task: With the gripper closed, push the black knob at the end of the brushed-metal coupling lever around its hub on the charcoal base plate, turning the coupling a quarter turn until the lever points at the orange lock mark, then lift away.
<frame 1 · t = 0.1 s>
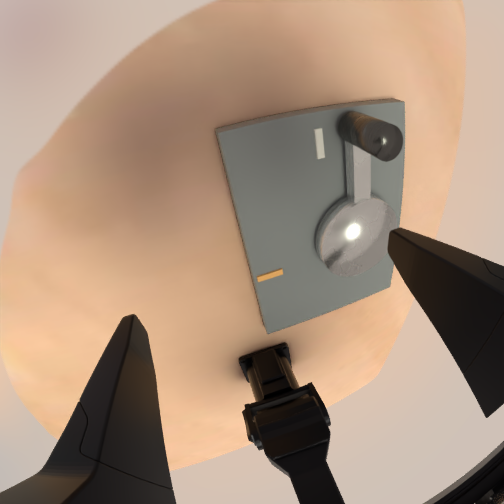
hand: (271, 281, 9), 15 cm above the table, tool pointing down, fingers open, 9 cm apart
base plate: (326, 223, 27), on the table
coupling cap: (368, 209, 22), point 4 cm above the table, hinge at 0.0°
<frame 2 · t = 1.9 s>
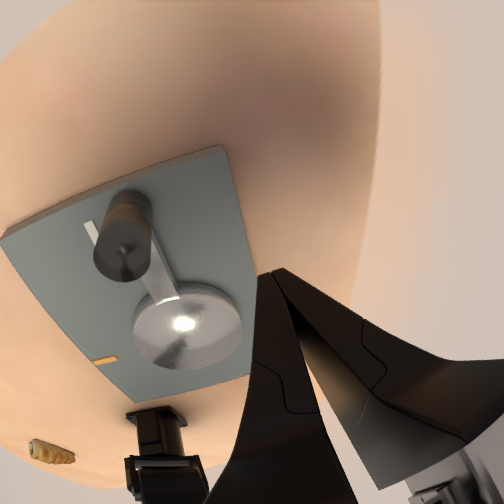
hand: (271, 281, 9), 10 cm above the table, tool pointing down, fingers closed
base plate: (158, 309, 23), on the table
coupling cap: (170, 315, 18), point 4 cm above the table, hinge at 0.0°
pastry: (49, 445, 36), on the table
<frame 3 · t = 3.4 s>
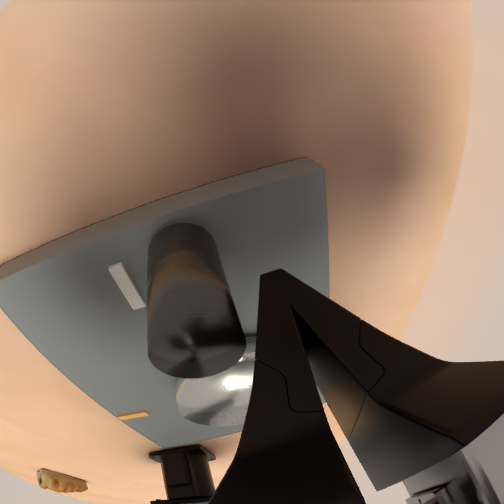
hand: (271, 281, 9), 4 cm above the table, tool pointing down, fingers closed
base plate: (201, 359, 18), on the table
coupling cap: (234, 383, 13), point 4 cm above the table, hinge at 0.1°, touching gripper
pastry: (58, 473, 31), on the table
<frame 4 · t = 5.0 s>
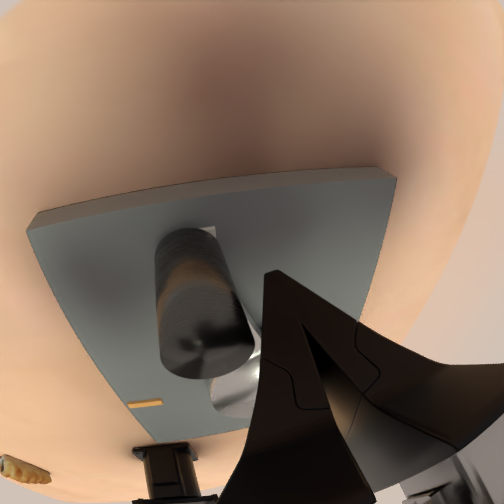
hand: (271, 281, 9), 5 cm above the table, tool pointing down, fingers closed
base plate: (231, 347, 18), on the table
coupling cap: (261, 375, 13), point 4 cm above the table, hinge at 21.5°, touching gripper
pastry: (21, 461, 26), on the table
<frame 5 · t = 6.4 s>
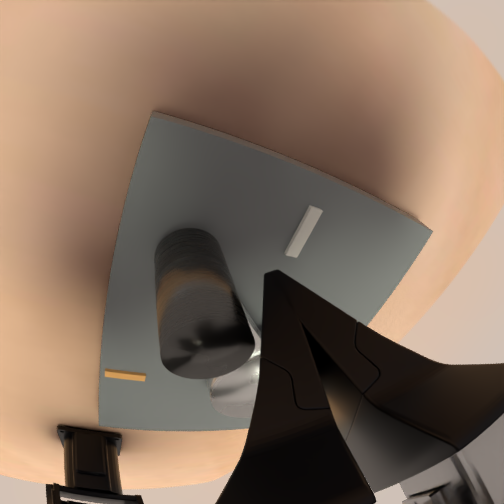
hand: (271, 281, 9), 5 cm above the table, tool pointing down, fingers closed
base plate: (236, 338, 18), on the table
coupling cap: (261, 375, 13), point 4 cm above the table, hinge at 46.1°, touching gripper
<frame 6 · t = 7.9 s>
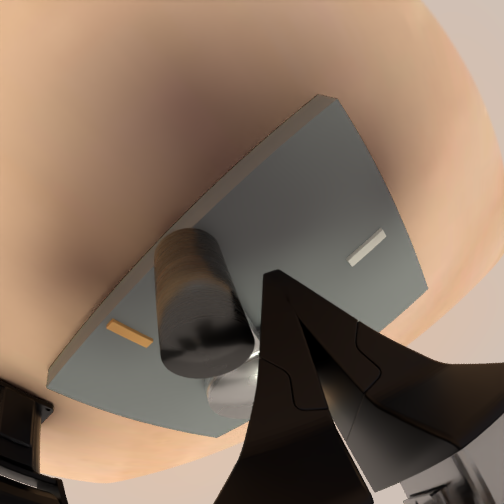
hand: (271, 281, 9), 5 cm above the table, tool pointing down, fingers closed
base plate: (244, 331, 18), on the table
coupling cap: (259, 375, 13), point 4 cm above the table, hinge at 71.1°, touching gripper
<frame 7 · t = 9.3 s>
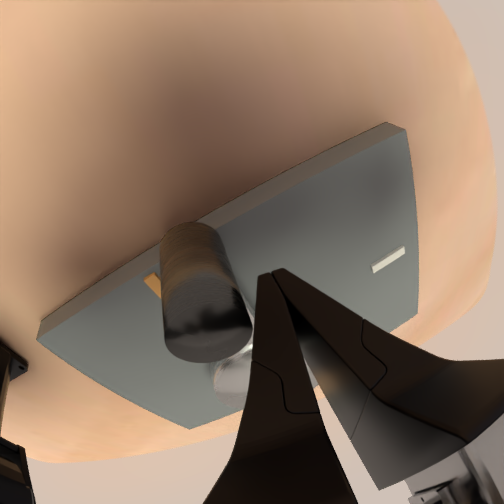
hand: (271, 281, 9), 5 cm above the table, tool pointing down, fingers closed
base plate: (258, 319, 18), on the table
coupling cap: (262, 364, 14), point 4 cm above the table, hinge at 87.9°
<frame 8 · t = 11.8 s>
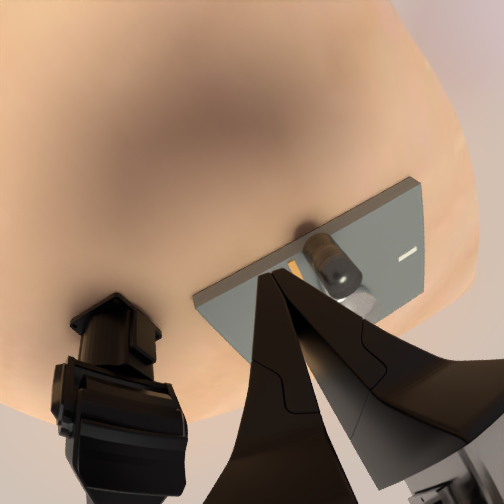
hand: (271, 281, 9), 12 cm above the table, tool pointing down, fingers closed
base plate: (331, 290, 29), on the table
coupling cap: (343, 312, 25), point 4 cm above the table, hinge at 88.0°
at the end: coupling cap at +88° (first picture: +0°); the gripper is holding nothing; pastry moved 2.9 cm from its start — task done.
